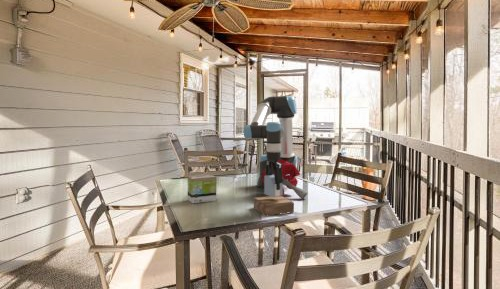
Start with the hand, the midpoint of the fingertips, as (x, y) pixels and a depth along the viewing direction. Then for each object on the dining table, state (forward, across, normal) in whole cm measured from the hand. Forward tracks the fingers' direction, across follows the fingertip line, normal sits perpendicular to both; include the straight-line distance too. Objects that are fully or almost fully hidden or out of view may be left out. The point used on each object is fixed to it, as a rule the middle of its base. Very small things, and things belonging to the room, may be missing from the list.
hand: (273, 194), depth 168 cm
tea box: (+9, -36, -28) cm, 46 cm away
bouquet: (+9, -22, +20) cm, 31 cm away
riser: (+9, 0, 0) cm, 9 cm away
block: (0, 0, 0) cm, 0 cm away
